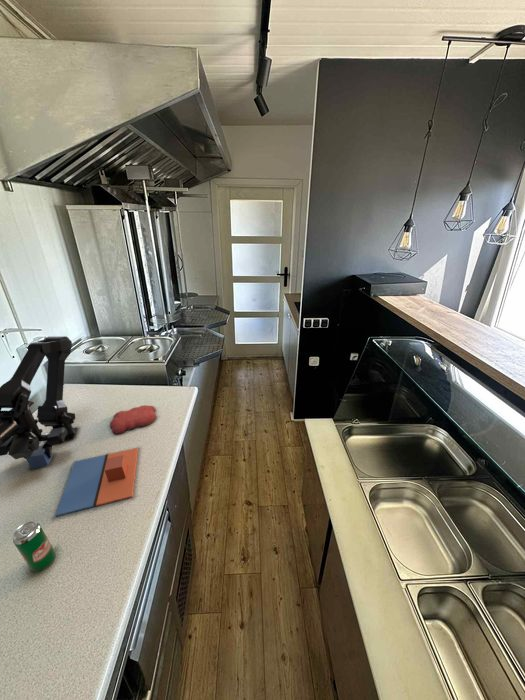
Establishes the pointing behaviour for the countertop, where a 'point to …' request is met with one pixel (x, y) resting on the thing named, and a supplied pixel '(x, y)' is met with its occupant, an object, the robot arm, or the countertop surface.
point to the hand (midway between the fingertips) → (41, 459)
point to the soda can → (34, 545)
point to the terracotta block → (116, 468)
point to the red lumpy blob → (132, 419)
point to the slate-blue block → (38, 458)
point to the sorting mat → (96, 483)
